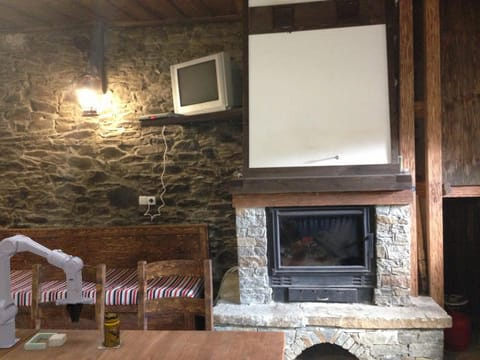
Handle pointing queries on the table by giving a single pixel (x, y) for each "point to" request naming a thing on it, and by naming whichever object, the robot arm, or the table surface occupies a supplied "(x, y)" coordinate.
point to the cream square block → (57, 340)
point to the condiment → (111, 332)
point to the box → (32, 344)
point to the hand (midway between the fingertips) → (75, 321)
